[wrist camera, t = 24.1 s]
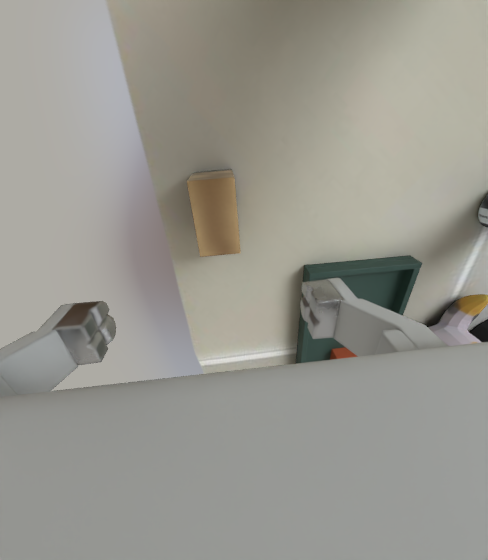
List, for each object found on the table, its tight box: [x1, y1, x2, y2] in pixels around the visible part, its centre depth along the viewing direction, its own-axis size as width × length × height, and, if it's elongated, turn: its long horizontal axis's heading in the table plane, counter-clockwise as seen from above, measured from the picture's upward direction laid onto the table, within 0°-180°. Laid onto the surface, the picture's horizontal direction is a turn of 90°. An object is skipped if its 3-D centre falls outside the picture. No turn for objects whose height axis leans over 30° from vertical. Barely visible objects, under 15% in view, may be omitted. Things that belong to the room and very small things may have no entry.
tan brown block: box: [187, 169, 240, 257], centre depth 24 cm, size 4×7×6 cm, turn 4°
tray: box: [296, 256, 422, 364], centre depth 37 cm, size 22×15×2 cm
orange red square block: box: [330, 347, 358, 360], centre depth 40 cm, size 4×4×2 cm
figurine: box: [428, 294, 488, 346], centre depth 35 cm, size 12×17×15 cm
